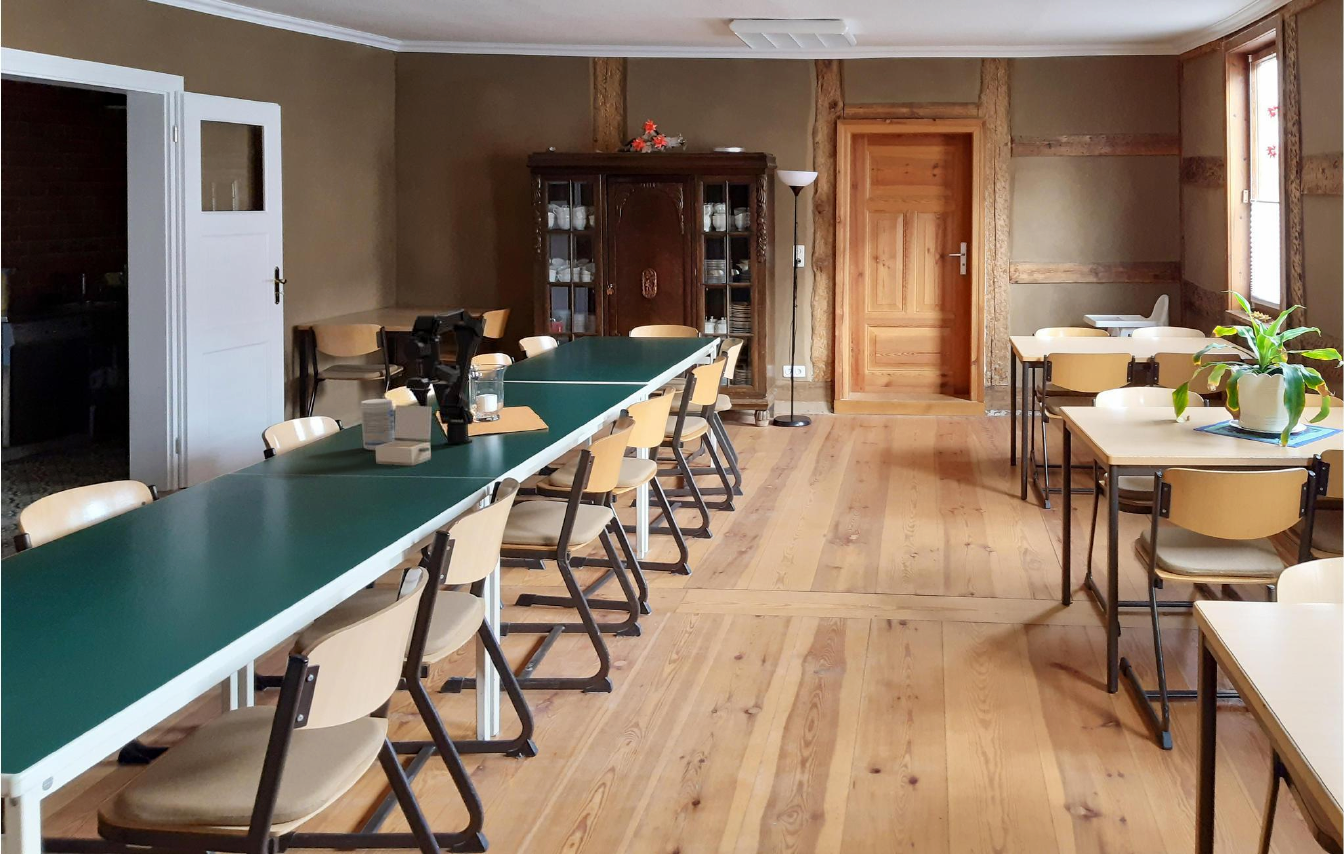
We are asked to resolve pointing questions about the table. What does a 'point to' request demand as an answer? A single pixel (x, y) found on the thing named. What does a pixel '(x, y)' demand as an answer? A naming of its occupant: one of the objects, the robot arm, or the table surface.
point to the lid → (413, 423)
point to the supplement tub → (377, 422)
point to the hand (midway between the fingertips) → (432, 408)
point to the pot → (403, 453)
